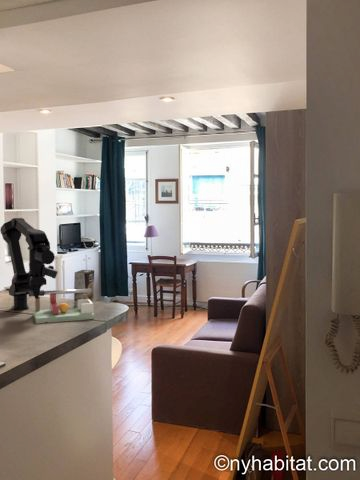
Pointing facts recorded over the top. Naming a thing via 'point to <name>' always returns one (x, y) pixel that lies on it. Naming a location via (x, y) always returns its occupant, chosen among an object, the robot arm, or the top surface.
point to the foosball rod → (53, 304)
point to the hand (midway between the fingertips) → (36, 298)
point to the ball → (63, 307)
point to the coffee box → (84, 285)
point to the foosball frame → (78, 313)
